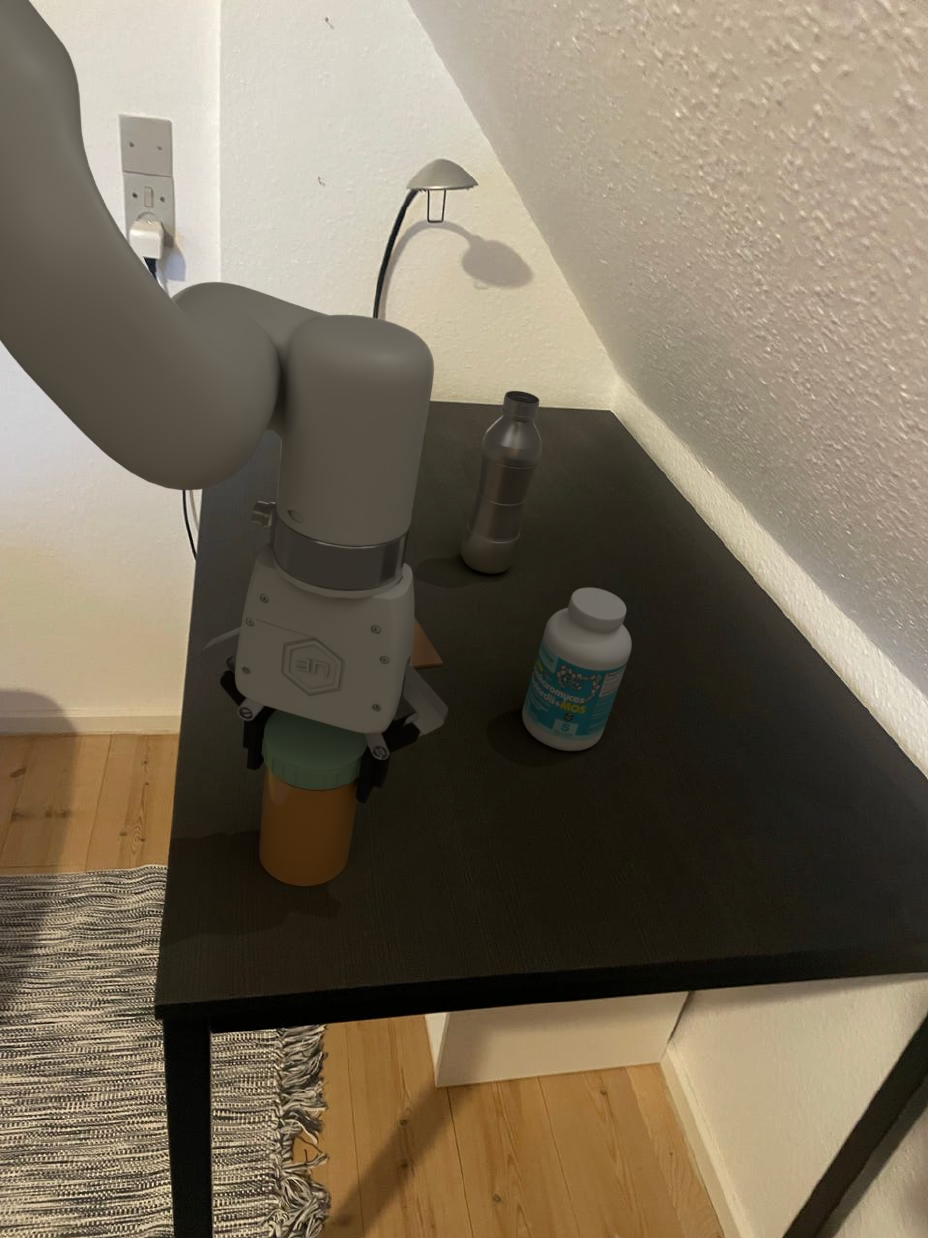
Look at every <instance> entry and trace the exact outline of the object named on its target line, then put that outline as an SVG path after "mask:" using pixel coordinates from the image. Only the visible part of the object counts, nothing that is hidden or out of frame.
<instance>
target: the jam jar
mask: <svg viewBox="0 0 928 1238" xmlns="http://www.w3.org/2000/svg"><path fill="white" fill-rule="evenodd" d="M357 784H358V777H357V778H356V779H355V780H353V781H352V782H350V783H349V784H346V785H344V786H341V787H338V788H333V789H327V790H310V789H304V788H299V787H295V786H293V785H290V784H288V783H286V782H284V781H281V780H280V779H279V778H278V777H276V776H275V775H274V774H273V773H271V771H270V770H269V768H268V767H267V765H266V764H264V779H263V789H262V803H261V815H260V816H261V817H260V826H259V838H258V839H259V840H258V858H259V861H260V863H261V865H262V867H263V868H264V870H265V871H266V872H267V873H268V874H269V875H270V876H271V877H273V878H274V879H276V880H277V881H279V882H282V883H284V884H287V885H290V886H295V887H313V886H319V885H322V884H325V883H328V882H330V881H332V880H333V879H335V878H337V877H338V875H340V874H341V872H342V871H343V870H344V869H345V868H346V866H347V864H348V862H349V858H350V853H351V852H350V851H351V844H352V838H353V832H354V826H355V819H356V814H357V813H356V812H357V807H358V799H356V798H355V797H356V791H357Z"/></svg>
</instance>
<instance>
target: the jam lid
mask: <svg viewBox="0 0 928 1238" xmlns="http://www.w3.org/2000/svg"><path fill="white" fill-rule="evenodd" d="M367 746H368V744H367V742H366V739H365V737H364V734H363V733H359V732H355V731H351V730H347V729H343V728H340V727H336V726H333V725H329V724H326V723H322V722H319V721H316V720H312V719H309V718H305V717H302V716H298V715H295V714H292V713H288V712H285V711H281V710H278V709H277V710H276V711H274V712H273V713H272V715H271V716H270V717H269V719H268V720H267V722H266V724H265V729H264V737H263V742H262V755H263V758H264V762H263V764H264V765H267V767H268V768H269V770H270V771H271V773H273V774H274V775H275V776H276V777H278V778H279V779H280V780H281V781H284V782H286V783H288V784H290V785H293V786H295V787H299V788H304V789H310V790H327V789H333V788H338V787H341V786H344V785H346V784H349V783H350V782H352V781H353V780H355V779H356V778H357V777H359V771H360V764H361V759H362V756H363V754H364V752H365V750H366V748H367Z"/></svg>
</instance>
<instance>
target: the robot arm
mask: <svg viewBox="0 0 928 1238" xmlns="http://www.w3.org/2000/svg"><path fill="white" fill-rule="evenodd" d="M81 111H82V109H81V94H80V87H79V80H78V76H77V72H76V68H75V66H74V63H73V60H72V58H71V55H70V53H69V51H68V49H67V48H66V46H65V44H64V43H63V42H62V41H61V38H59V36H58V35H57V34H56V32H55V31H54V30H53V29H52V28H51V27H50V25H49V24H48V23H47V22H46V20H45V19H44V18H43V16H42V15H41V14H40V12H39V11H38V10H37V8H36V7H35V6H34V4H32V2H31V1H30V0H0V342H1V343H2V345H3V347H4V348H5V349H6V350H7V352H8V353H9V354H10V356H11V357H12V358H13V359H14V361H15V362H16V363H17V364H18V366H19V367H21V369H22V370H23V371H24V372H25V373H26V375H27V376H29V378H30V379H31V380H32V381H33V382H34V383H35V385H37V386H38V388H40V389H41V391H42V392H43V393H44V394H45V395H46V396H47V397H48V398H49V399H50V400H51V401H52V402H53V404H55V406H57V407H58V409H59V410H61V412H62V413H63V414H64V415H65V416H66V417H67V418H68V419H69V420H70V421H71V422H72V423H73V424H74V425H75V427H77V428H78V429H79V430H80V432H81V433H83V435H85V437H87V438H88V439H89V440H90V441H91V442H92V443H93V444H94V445H95V446H96V447H97V448H98V449H99V450H101V452H102V453H104V454H105V455H106V456H108V457H109V458H110V459H111V460H112V461H114V462H116V463H117V464H118V465H120V466H121V467H122V468H124V469H125V470H127V471H128V472H129V473H130V474H133V475H134V476H136V477H138V478H140V479H142V480H144V481H146V482H147V483H149V484H152V485H153V484H154V485H156V486H159V487H162V488H165V489H170V490H175V491H176V490H177V491H199V490H200V491H201V490H204V489H207V488H212V487H214V486H217V485H219V484H221V483H223V482H225V481H227V480H229V479H231V478H232V476H234V475H235V474H237V473H238V472H240V471H241V470H242V468H243V467H244V466H246V464H247V463H248V462H249V460H250V459H251V458H252V456H253V455H254V453H255V452H256V450H257V448H258V447H259V445H260V442H261V441H262V439H263V436H264V435H265V433H266V431H271V432H274V434H276V435H277V436H278V438H279V440H280V441H279V442H280V452H279V464H278V465H279V466H278V480H277V491H276V492H277V493H276V502H273V501H271V502H269V503H268V502H264V501H261V500H258V501H256V503H255V504H254V506H253V509H252V513H251V522H252V523H253V524H255V525H259V526H263V528H264V530H268V532H269V536H270V537H269V542H268V543H267V544H266V545H264V546H263V547H262V548H261V549H259V552H258V554H257V557H256V560H255V562H254V566H253V569H252V572H251V577H250V580H249V584H248V588H247V593H246V598H245V603H244V608H243V613H242V618H241V624H240V626H239V627H237V628H235V629H232V630H230V631H227V632H226V633H223V634H221V635H218V636H216V637H214V638H212V639H211V640H209V642H208V643H207V644H206V645H205V647H204V648H202V650H201V652H200V654H201V657H202V659H203V661H205V662H206V664H207V665H208V667H209V668H210V669H211V671H212V672H213V673H214V675H215V676H218V677H219V684H220V687H221V688H222V689H223V690H224V691H225V692H226V694H227V695H228V696H229V698H231V700H232V701H233V702H234V703H235V704H236V705H237V707H238V708H237V709H236V712H237V715H238V717H239V718H240V719H242V720H243V723H244V724H243V735H242V748H243V749H247V759H246V769H248V770H251V771H256V770H259V769H260V768H261V767H262V765H263V764H264V762H265V761H264V758H263V755H262V742H263V737H264V729H265V724H266V722H267V720H268V719H269V717H270V716H271V715H272V713H273V712H274V711H276V710H277V709H278V710H281V711H285V712H288V713H292V714H295V715H298V716H302V717H305V718H309V719H312V720H316V721H319V722H322V723H326V724H329V725H333V726H336V727H340V728H343V729H347V730H351V731H355V732H359V733H363V734H364V737H365V739H366V742H367V744H368V746H367V748H366V750H365V752H364V754H363V756H362V759H361V764H360V771H359V777H358V784H357V791H356V797H355V798H356V799H358V800H357V802H358V803H363V804H366V803H367V802H368V800H369V797H370V795H371V792H372V790H373V788H374V787H375V788H379V789H382V788H383V786H384V784H385V781H386V778H387V776H388V772H389V766H390V760H391V754H392V753H394V752H396V751H399V750H401V749H403V748H405V747H407V746H410V745H412V744H414V743H416V742H417V740H418V739H419V738H421V737H423V736H426V735H428V734H430V733H432V732H433V731H436V730H437V729H440V728H441V727H442V726H444V724H445V721H446V719H447V717H448V714H449V712H450V711H449V707H448V705H446V703H445V702H444V701H443V699H441V698H440V696H439V695H438V694H437V693H436V692H435V690H434V689H432V687H431V686H430V685H429V684H428V682H426V680H424V678H423V677H422V676H421V675H420V674H419V672H417V670H416V669H414V668H413V667H412V666H411V660H412V649H413V635H414V617H415V588H414V577H413V571H412V568H411V566H410V565H409V564H407V563H405V559H406V552H407V547H408V540H409V536H410V535H409V533H410V527H411V523H412V515H413V509H414V502H415V496H416V491H417V483H418V479H419V478H418V476H419V470H420V465H421V459H422V451H423V446H424V440H425V434H426V428H427V423H428V422H427V421H428V416H429V410H430V403H431V398H432V391H433V383H434V377H435V376H434V375H435V361H434V357H433V354H432V351H431V349H430V347H429V345H428V344H427V343H426V342H425V341H424V340H423V338H422V337H421V336H419V335H418V334H417V333H416V332H414V331H412V330H410V329H408V328H407V327H404V326H402V325H399V324H397V323H395V322H391V321H388V320H384V319H381V318H377V317H371V316H365V315H357V314H327V313H325V312H320V311H317V310H313V309H309V308H308V307H304V306H301V305H299V304H295V303H292V302H289V301H288V300H287V301H286V300H284V299H281V298H278V297H275V296H272V295H270V294H267V293H266V292H262V291H259V290H255V289H253V288H249V287H246V286H243V285H240V284H236V283H231V282H223V281H206V282H200V283H196V284H192V285H190V286H187V287H185V288H183V289H181V290H180V291H178V292H176V293H175V294H174V295H173V296H172V297H170V295H169V294H168V292H167V291H166V290H165V289H164V288H163V287H162V285H161V284H160V283H159V282H158V280H157V279H156V278H155V277H154V275H153V274H152V272H151V271H150V270H149V268H148V267H146V265H145V264H144V262H143V261H142V259H141V257H139V255H138V254H137V252H136V251H135V250H134V249H133V247H132V245H131V244H130V242H129V241H128V239H127V238H126V237H125V235H124V233H123V232H122V230H121V229H120V228H119V225H118V224H117V222H116V220H115V218H114V217H113V215H112V213H111V211H110V210H109V208H108V206H107V204H106V202H105V200H104V198H103V196H102V194H101V192H100V190H99V188H98V185H97V183H96V180H95V178H94V177H95V176H94V175H93V172H92V170H91V167H90V163H89V159H88V157H87V152H86V149H85V143H84V136H83V127H82V112H81ZM401 697H402V698H403V699H404V700H405V701H406V702H407V703H408V705H409V706H410V707H411V708H412V709H413V711H414V712H410V713H408V714H406V715H403V716H402V717H400V718H398V716H397V710H398V707H399V705H400V700H401Z"/></svg>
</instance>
